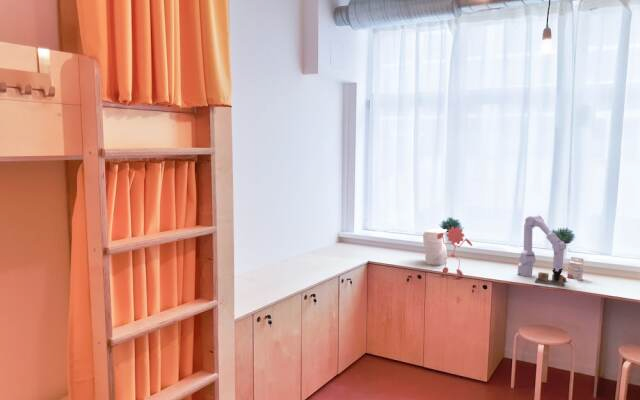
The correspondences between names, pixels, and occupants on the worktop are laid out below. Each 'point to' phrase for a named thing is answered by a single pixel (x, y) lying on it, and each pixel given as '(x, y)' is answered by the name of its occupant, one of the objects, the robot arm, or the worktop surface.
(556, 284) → the grey divided tray
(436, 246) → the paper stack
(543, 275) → the block
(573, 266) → the ink cartridge box
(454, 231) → the figurine
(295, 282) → the worktop surface
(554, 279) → the block
